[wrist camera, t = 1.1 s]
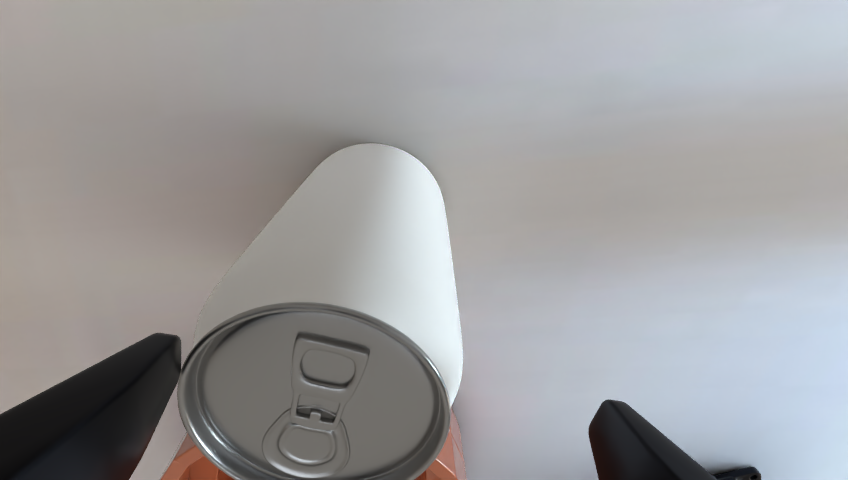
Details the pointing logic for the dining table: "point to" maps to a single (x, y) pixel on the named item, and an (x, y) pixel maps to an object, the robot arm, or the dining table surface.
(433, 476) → the bowl
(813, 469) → the dining table surface
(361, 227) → the can
